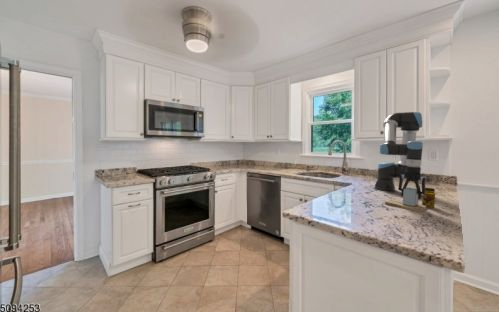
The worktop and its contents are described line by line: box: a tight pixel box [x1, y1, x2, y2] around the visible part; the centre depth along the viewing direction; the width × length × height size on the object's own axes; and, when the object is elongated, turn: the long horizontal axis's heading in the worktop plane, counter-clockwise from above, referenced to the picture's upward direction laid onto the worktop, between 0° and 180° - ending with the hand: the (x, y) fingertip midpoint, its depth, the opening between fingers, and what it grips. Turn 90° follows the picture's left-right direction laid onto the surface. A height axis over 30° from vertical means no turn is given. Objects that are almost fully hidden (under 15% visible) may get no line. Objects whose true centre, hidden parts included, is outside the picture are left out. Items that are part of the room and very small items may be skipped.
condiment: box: [418, 187, 438, 210], centre depth 139 cm, size 7×8×12 cm
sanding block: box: [402, 186, 418, 207], centre depth 137 cm, size 8×6×10 cm
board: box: [384, 198, 427, 213], centre depth 139 cm, size 12×19×2 cm, turn 40°
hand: (410, 203), depth 137 cm, fingers closed on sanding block, 6 cm apart
